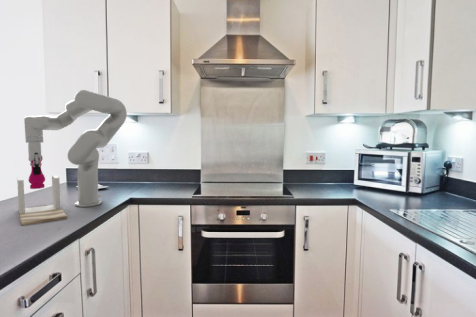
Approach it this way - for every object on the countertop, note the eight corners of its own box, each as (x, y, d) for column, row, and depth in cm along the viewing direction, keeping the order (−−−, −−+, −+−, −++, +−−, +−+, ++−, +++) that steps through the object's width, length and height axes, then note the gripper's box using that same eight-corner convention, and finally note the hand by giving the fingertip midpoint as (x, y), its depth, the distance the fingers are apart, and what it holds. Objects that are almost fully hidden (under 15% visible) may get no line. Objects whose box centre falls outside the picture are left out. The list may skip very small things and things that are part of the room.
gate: (18, 210, 135) (17, 177, 134) (57, 205, 146) (56, 175, 144) (19, 214, 128) (18, 180, 127) (60, 209, 138) (59, 177, 137)
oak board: (19, 216, 126) (19, 213, 125) (61, 210, 136) (61, 208, 136) (21, 225, 113) (21, 222, 113) (67, 218, 124) (67, 215, 124)
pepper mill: (26, 189, 144) (23, 150, 142) (32, 187, 151) (30, 150, 149) (42, 188, 146) (40, 150, 144) (47, 186, 153) (45, 150, 151)
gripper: (24, 139, 150) (26, 173, 152) (26, 140, 137) (29, 176, 139) (41, 139, 155) (43, 171, 157) (45, 139, 142) (47, 174, 144)
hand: (36, 173), depth 148 cm, fingers closed on pepper mill, 5 cm apart
